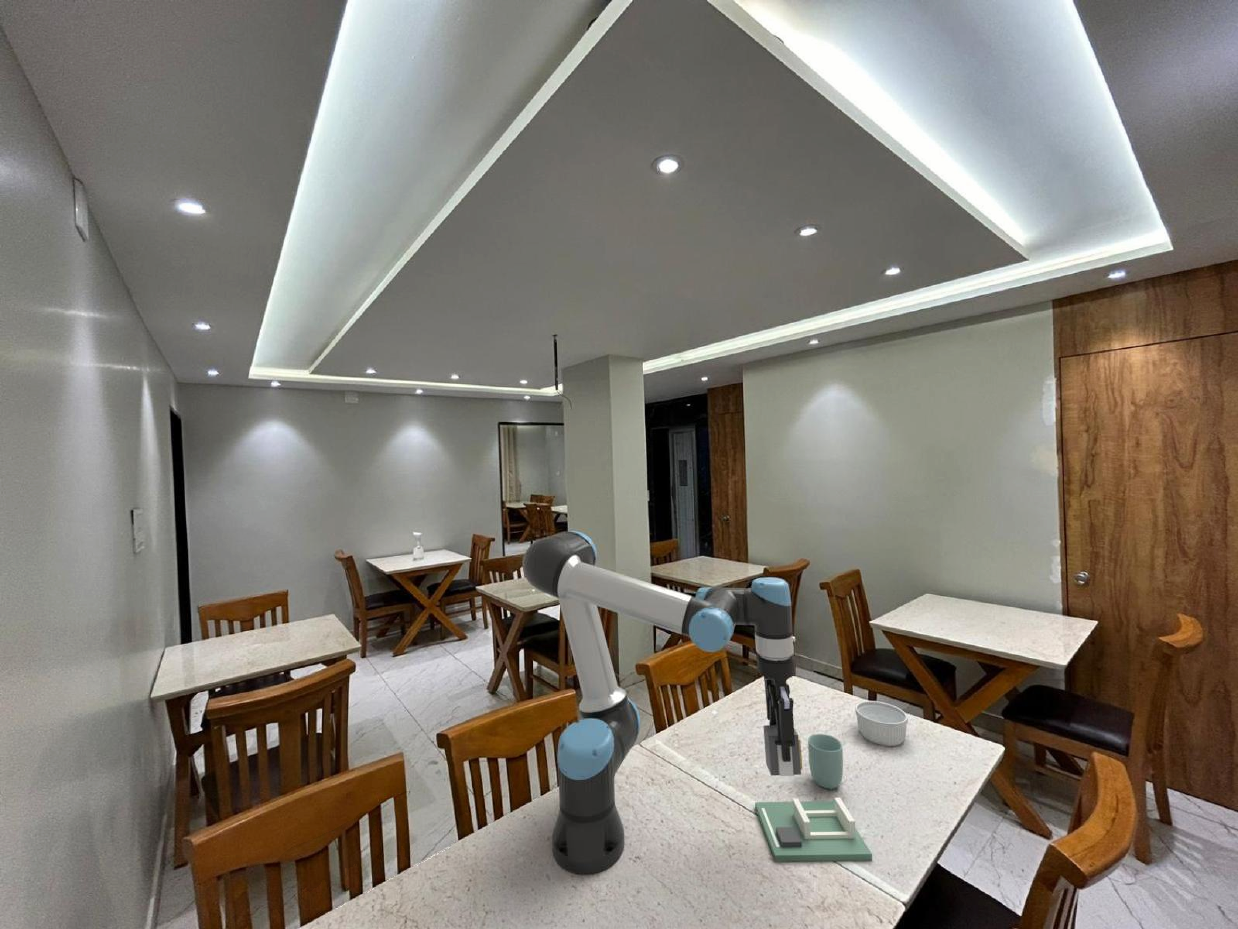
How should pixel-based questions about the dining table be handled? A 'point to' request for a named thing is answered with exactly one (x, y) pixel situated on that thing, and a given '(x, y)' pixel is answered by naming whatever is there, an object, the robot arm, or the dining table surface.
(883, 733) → the ramekin
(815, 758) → the cup
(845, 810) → the board
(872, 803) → the dining table surface
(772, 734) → the plug
